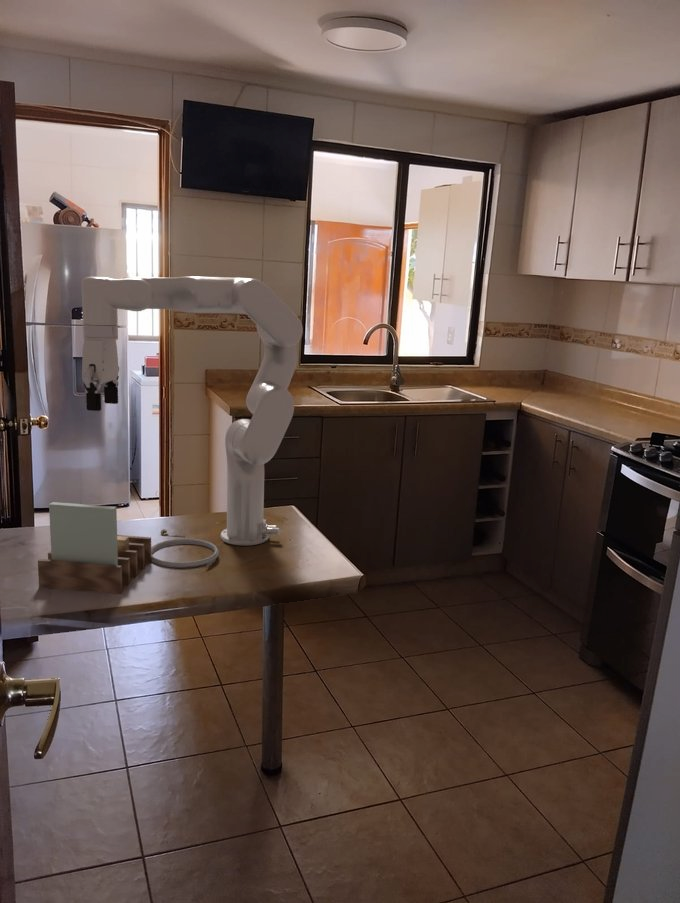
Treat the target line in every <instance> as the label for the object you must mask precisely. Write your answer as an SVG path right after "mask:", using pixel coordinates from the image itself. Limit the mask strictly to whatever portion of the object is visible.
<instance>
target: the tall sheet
mask: <svg viewBox="0 0 680 903" xmlns="http://www.w3.org/2000/svg"><path fill="white" fill-rule="evenodd" d="M48 509H49V510H48V511H49V531H50V534H49V535H50V551H51V557H52V560H60V561H72V562H84V563H96V564H108V565H118V549H117V535H118V520H117V519H118V516H117V511H118V510H117V506H110V505H97V504H95V505H94V504H84V503H83V504H82V503H72V502H71V503H70V502H56V501H52V502H50V503H49V504H48Z"/></svg>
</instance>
